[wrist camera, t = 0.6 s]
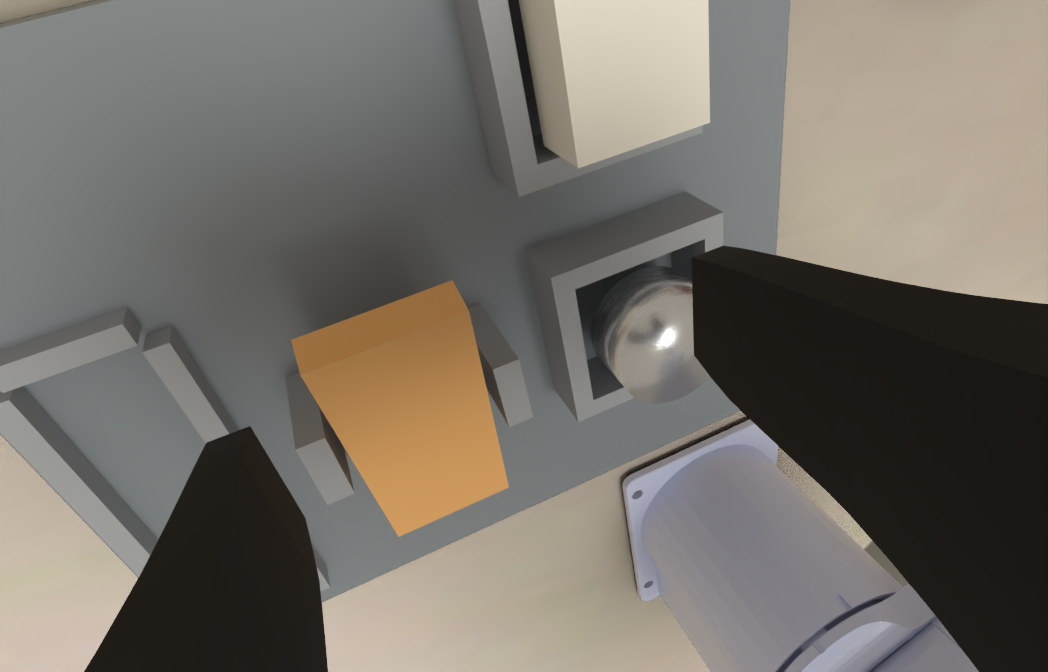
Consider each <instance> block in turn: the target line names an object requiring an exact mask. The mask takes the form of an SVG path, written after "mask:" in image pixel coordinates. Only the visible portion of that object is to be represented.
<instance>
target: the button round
mask: <svg viewBox="0 0 1048 672" xmlns="http://www.w3.org/2000/svg"><path fill="white" fill-rule="evenodd" d="M591 342H592V347H593V349H594V352H595V353H596V355H597V356H598V358H599V359H600V360H601V361H602V362H603V363H604V364H605V366H606V367H607V368H608V369H609V370H610V371H611V372H612V374H613V375H614V376H615V377H616V378H617V379H618V380H619V382H620V383H621V384H622V385H623V386H624V387H625V388H626V389H627V391H628V392H629V393H630V394H631V395H632V396H633V397H635V398H636V399H638V400H640V401H642V402H645V403H651V404H662V403H668V402H671V401H675V400H677V399H680V398H682V397H684V396H686V395H688V394H689V393H691V392H693V391H694V390H696V389H697V388H698V387H700V386H701V385H702V384H703V383H704V382H705V381H706V380H707V379H708V378H709V377H710V376H709V374H708V373H707V372H706V370H705V369H704V368H703V366H702V365H701V364H700V363H699V361H698V360H697V359H696V357H695V356H694V339H693V298H692V281H691V280H690V279H688V278H687V277H686V276H684V275H683V274H682V273H680V272H679V271H677V270H675V269H673V268H670V267H665V266H652V267H647V268H643V269H640V270H638V271H635V272H633V273H631V274H630V275H628V276H626V277H625V278H623V279H622V280H620V281H619V282H618V283H617V284H616V285H615V286H613V287H612V288H611V290H610V291H609V292H608V293H607V294H606V295H605V297H604V298H603V299H602V301H601V303H600V304H599V306H598V308H597V310H596V312H595V315H594V318H593V321H592V326H591Z"/></svg>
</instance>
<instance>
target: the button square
mask: <svg viewBox="0 0 1048 672" xmlns="http://www.w3.org/2000/svg"><path fill="white" fill-rule="evenodd" d="M519 5H520V11H521V17H522V23H523V28H524V34H525V40H526V46H527V51H528V57H529V63H530V69H531V75H532V80H533V86H534V92H535V98H536V103H537V109H538V115H539V121H540V126H541V132H542V138H543V144H544V146H545V147H547V148H548V149H550V150H551V151H553V152H554V153H556V154H557V155H559V156H560V157H562V158H563V159H565V160H566V161H568V162H569V163H571V164H572V165H574V166H575V167H577V168H581V167H584V166H587V165H590V164H593V163H596V162H598V161H601V160H604V159H607V158H610V157H613V156H616V155H619V154H621V153H624V152H627V151H630V150H633V149H636V148H639V147H642V146H644V145H647V144H650V143H653V142H656V141H659V140H662V139H665V138H668V137H670V136H673V135H676V134H679V133H682V132H685V131H688V130H691V129H693V128H696V127H699V126H702V125H705V124H708V123H710V82H709V8H708V0H519Z"/></svg>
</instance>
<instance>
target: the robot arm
mask: <svg viewBox="0 0 1048 672" xmlns="http://www.w3.org/2000/svg"><path fill="white" fill-rule="evenodd" d="M692 298H693V339H694V356H695V357H696V359H697V360H698V361H699V363H700V364H701V365H702V366H703V368H704V369H705V370H706V372H707V373H708V374H709V376H710V377H711V378H712V379H713V381H714V382H715V383H716V384H717V385H718V387H719V388H720V389H721V390H722V391H723V393H724V394H725V395H726V396H727V397H728V399H729V400H730V401H731V402H732V403H733V404H734V405H736V406H737V407H738V408H739V409H740V410H741V411H742V412H743V413H744V414H745V415H746V416H747V417H748V418H749V420H747V421H745V422H743V423H741V424H738V425H736V426H734V427H732V428H730V429H728V430H726V431H723V432H721V433H719V434H717V435H715V436H713V437H710V438H708V439H706V440H704V441H702V442H700V443H697V444H695V445H693V446H691V447H689V448H687V449H685V450H682V451H680V452H678V453H676V454H674V455H672V456H669V457H667V458H665V459H663V460H661V461H659V462H656V463H654V464H652V465H650V466H648V467H646V468H644V469H641V470H639V471H637V472H635V473H633V474H631V475H629V476H628V477H627V478H626V479H625V480H624V482H623V485H622V488H623V494H624V501H625V508H626V515H627V522H628V529H629V536H630V542H631V549H632V556H633V563H634V570H635V577H636V584H637V590H638V595H639V597H640V598H641V600H642V601H644V602H646V601H650V600H652V599H654V598H656V597H658V596H660V595H661V597H662V598H663V600H664V601H665V603H666V604H667V606H668V608H669V609H670V611H671V612H672V614H673V615H674V617H675V618H676V620H677V621H678V623H679V624H680V626H681V627H682V629H683V630H684V632H685V633H686V635H687V636H688V638H689V639H690V641H691V642H692V644H693V645H694V647H695V649H696V650H697V652H698V653H699V655H700V656H701V658H702V659H703V661H704V662H705V664H706V665H707V667H708V668H709V670H710V671H711V672H1048V304H1040V303H1031V302H1023V301H1015V300H1006V299H998V298H990V297H982V296H974V295H968V294H961V293H954V292H948V291H942V290H937V289H931V288H926V287H920V286H915V285H909V284H904V283H898V282H893V281H889V280H884V279H879V278H874V277H869V276H865V275H860V274H855V273H851V272H846V271H842V270H838V269H833V268H829V267H824V266H820V265H816V264H811V263H807V262H803V261H799V260H794V259H790V258H786V257H781V256H777V255H772V254H768V253H763V252H758V251H754V250H748V249H743V248H737V247H730V246H721V247H718V248H716V249H713V250H710V251H708V252H705V253H703V254H700V255H697V256H695V257H692ZM778 446H779V447H780V448H781V449H782V450H783V451H784V452H785V453H786V454H788V455H789V456H790V457H791V458H792V459H793V460H794V461H795V462H796V463H797V464H798V465H799V466H800V467H802V468H803V469H804V470H805V471H806V472H807V473H808V474H809V475H810V476H811V477H812V478H813V479H814V480H816V481H817V482H818V483H819V484H820V485H821V486H822V487H823V488H824V489H825V490H826V491H827V492H828V493H829V494H830V495H831V496H832V497H833V498H834V499H835V500H836V501H837V502H838V503H839V504H840V505H841V506H842V507H843V508H844V509H845V510H846V511H847V512H848V513H849V514H850V515H851V516H852V518H853V519H854V520H855V521H856V522H857V523H858V524H859V526H860V527H861V528H862V529H863V530H864V531H865V532H866V534H867V535H868V536H869V537H870V538H871V539H872V540H873V542H874V543H875V544H876V545H877V546H878V547H879V548H880V549H881V550H882V552H883V553H884V554H885V555H886V556H887V558H888V559H889V560H890V561H891V562H892V563H893V565H894V566H895V567H896V568H897V569H898V571H899V572H900V573H901V574H902V575H903V577H904V578H905V579H906V580H907V581H908V583H909V584H910V585H911V586H912V587H911V586H910V585H906V586H905V587H902V586H901V585H900V584H898V582H897V581H895V580H894V579H893V578H892V577H891V576H890V575H889V574H888V573H887V572H886V571H885V570H884V569H883V568H882V567H881V566H880V565H879V564H878V563H877V562H876V561H875V560H874V559H873V558H872V557H871V556H869V554H867V553H866V552H865V551H864V550H863V549H862V548H861V547H860V546H859V545H858V544H857V543H856V542H855V541H854V540H853V539H852V538H851V537H850V536H849V535H848V534H847V533H846V532H845V531H844V530H843V529H842V528H841V527H840V526H838V525H837V524H836V523H835V522H834V521H833V520H832V519H831V518H830V517H829V516H828V515H827V514H826V513H825V512H824V511H823V510H822V509H821V508H820V507H819V506H818V505H817V504H816V503H815V502H814V501H813V500H812V499H810V498H809V497H808V496H807V495H806V494H805V493H804V492H803V491H802V490H801V489H800V488H799V487H798V486H797V485H796V484H795V483H794V482H793V481H792V480H791V479H790V478H789V477H788V476H787V475H786V474H785V473H784V472H782V471H781V470H780V469H779V468H778V467H777V456H778ZM84 672H328V668H327V657H326V645H325V634H324V623H323V612H322V602H321V592H320V582H319V576H318V571H317V567H316V562H315V557H314V552H313V548H312V544H311V540H310V535H309V531H308V527H307V522H306V518H305V516H304V515H303V513H302V511H301V510H300V508H299V506H298V505H297V503H296V501H295V500H294V498H293V496H292V495H291V493H290V491H289V490H288V488H287V486H286V485H285V483H284V481H283V480H282V478H281V476H280V475H279V473H278V471H277V470H276V468H275V466H274V465H273V463H272V461H271V460H270V458H269V456H268V455H267V453H266V451H265V450H264V448H263V446H262V445H261V443H260V441H259V440H258V438H257V436H256V435H255V433H254V431H253V430H252V428H251V426H249V427H246V428H243V429H241V430H238V431H236V432H233V433H230V434H228V435H225V436H222V437H220V438H217V439H215V440H212V441H209V442H207V443H206V444H205V446H204V448H203V450H202V452H201V454H200V456H199V458H198V460H197V462H196V464H195V466H194V468H193V470H192V472H191V474H190V476H189V478H188V480H187V482H186V484H185V486H184V488H183V490H182V493H181V495H180V497H179V499H178V501H177V503H176V505H175V507H174V509H173V511H172V513H171V515H170V517H169V519H168V521H167V523H166V525H165V527H164V529H163V531H162V533H161V535H160V537H159V539H158V541H157V543H156V545H155V547H154V549H153V551H152V553H151V555H150V557H149V559H148V561H147V562H146V564H145V566H144V568H143V570H142V572H141V574H140V576H139V578H138V580H137V582H136V584H135V585H134V587H133V589H132V591H131V592H130V594H129V596H128V598H127V599H126V601H125V603H124V605H123V606H122V608H121V610H120V612H119V613H118V615H117V617H116V619H115V620H114V622H113V624H112V626H111V627H110V629H109V631H108V633H107V634H106V636H105V638H104V640H103V641H102V643H101V645H100V647H99V648H98V650H97V652H96V653H95V655H94V657H93V658H92V660H91V661H90V663H89V665H88V666H87V668H86V670H85V671H84Z"/></svg>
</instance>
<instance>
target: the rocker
mask: <svg viewBox="0 0 1048 672" xmlns="http://www.w3.org/2000/svg"><path fill="white" fill-rule="evenodd" d="M291 342H292V345H293V349H294V353H295V357H296V361H297V364H298V368H299V372H300V376H301V377H302V379H303V381H304V382H305V384H306V386H307V387H308V389H309V390H310V392H311V394H312V395H313V397H314V399H315V400H316V402H317V404H318V405H319V407H320V409H321V410H322V412H323V413H324V415H325V417H326V418H327V420H328V422H329V423H330V425H331V427H332V428H333V430H334V432H335V433H336V435H337V437H338V438H339V440H340V441H341V443H342V445H343V447H344V449H345V451H346V453H347V455H348V457H350V458H351V460H352V461H353V463H354V464H355V466H356V468H357V469H358V471H359V473H360V474H361V476H362V478H363V479H364V481H365V483H366V484H367V486H368V487H369V489H370V491H371V492H372V494H373V496H374V497H375V499H376V501H377V502H378V504H379V506H380V507H381V509H382V511H383V512H384V514H385V515H386V517H387V519H388V520H389V522H390V524H391V525H392V527H393V529H394V530H395V532H396V534H397V535H398V537H400V536H402V535H404V534H406V533H408V532H411V531H413V530H415V529H417V528H420V527H422V526H424V525H426V524H429V523H431V522H433V521H435V520H437V519H440V518H442V517H444V516H446V515H449V514H451V513H453V512H455V511H458V510H460V509H462V508H464V507H466V506H469V505H471V504H473V503H475V502H478V501H480V500H482V499H484V498H487V497H489V496H491V495H493V494H495V493H498V492H500V491H502V490H504V489H507V488H509V485H508V480H507V476H506V472H505V467H504V463H503V458H502V454H501V450H500V445H499V441H498V436H497V432H496V427H495V423H494V419H493V414H492V410H491V405H490V401H489V399H490V396H489V392H488V390H487V387H486V383H485V379H484V375H483V370H482V366H481V361H480V357H479V353H478V348H477V344H476V339H475V335H474V330H473V326H472V322H471V317H470V313H469V310H468V308H467V306H466V304H465V302H464V301H463V299H462V297H461V295H460V293H459V291H458V289H457V288H456V286H455V284H454V282H453V280H452V281H449V282H446V283H443V284H441V285H438V286H435V287H433V288H430V289H427V290H424V291H422V292H419V293H416V294H414V295H411V296H408V297H406V298H403V299H400V300H397V301H395V302H392V303H389V304H387V305H384V306H381V307H379V308H376V309H373V310H370V311H368V312H365V313H362V314H360V315H357V316H354V317H352V318H349V319H346V320H343V321H341V322H338V323H335V324H333V325H330V326H327V327H325V328H322V329H319V330H316V331H314V332H311V333H308V334H306V335H303V336H300V337H298V338H295V339H292V340H291Z"/></svg>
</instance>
